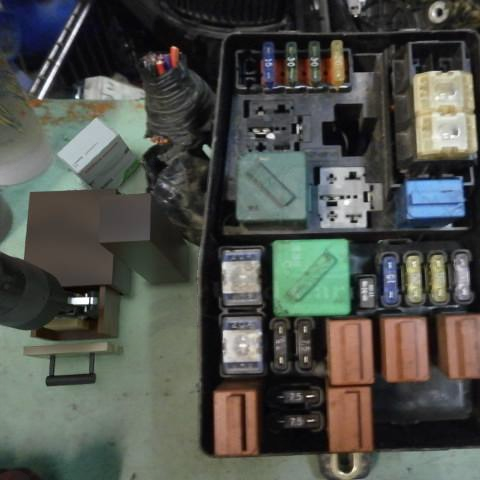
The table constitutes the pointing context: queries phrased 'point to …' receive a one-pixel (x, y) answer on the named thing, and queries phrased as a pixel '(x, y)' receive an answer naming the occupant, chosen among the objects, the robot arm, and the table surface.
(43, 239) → the cabinet
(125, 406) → the table surface
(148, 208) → the post
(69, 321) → the block
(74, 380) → the drawer
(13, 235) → the table surface
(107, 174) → the ink box
